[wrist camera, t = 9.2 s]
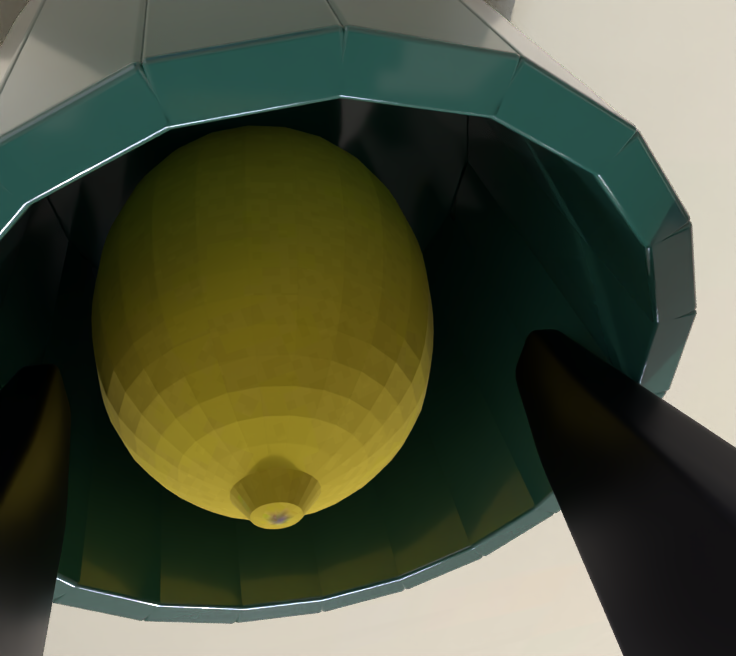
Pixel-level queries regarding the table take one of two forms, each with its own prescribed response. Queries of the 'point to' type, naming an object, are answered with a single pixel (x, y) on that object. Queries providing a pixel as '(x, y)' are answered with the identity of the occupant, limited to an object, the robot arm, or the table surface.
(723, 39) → the table surface
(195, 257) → the lemon
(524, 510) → the cup
